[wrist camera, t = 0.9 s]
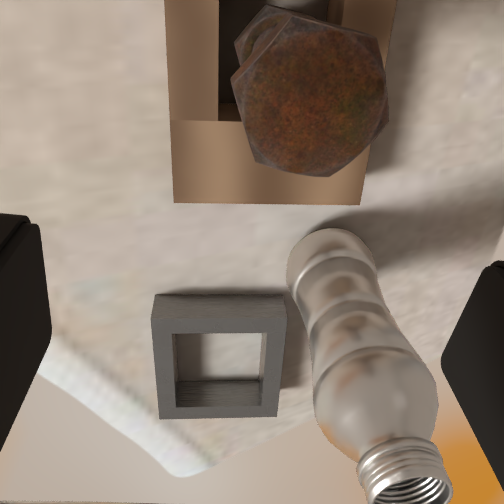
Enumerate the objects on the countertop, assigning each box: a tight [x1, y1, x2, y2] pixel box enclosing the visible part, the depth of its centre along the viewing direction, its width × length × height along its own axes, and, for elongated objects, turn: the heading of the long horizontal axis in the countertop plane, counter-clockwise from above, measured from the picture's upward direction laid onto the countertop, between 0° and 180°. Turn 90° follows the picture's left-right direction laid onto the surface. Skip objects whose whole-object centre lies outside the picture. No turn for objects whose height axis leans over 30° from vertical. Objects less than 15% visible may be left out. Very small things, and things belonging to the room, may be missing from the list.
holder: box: [151, 295, 287, 419], centre depth 40 cm, size 10×12×3 cm
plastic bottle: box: [286, 228, 453, 504], centre depth 29 cm, size 6×7×20 cm
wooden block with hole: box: [164, 0, 397, 205], centre depth 27 cm, size 12×18×4 cm, turn 177°
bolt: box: [231, 4, 389, 177], centre depth 22 cm, size 6×5×15 cm
